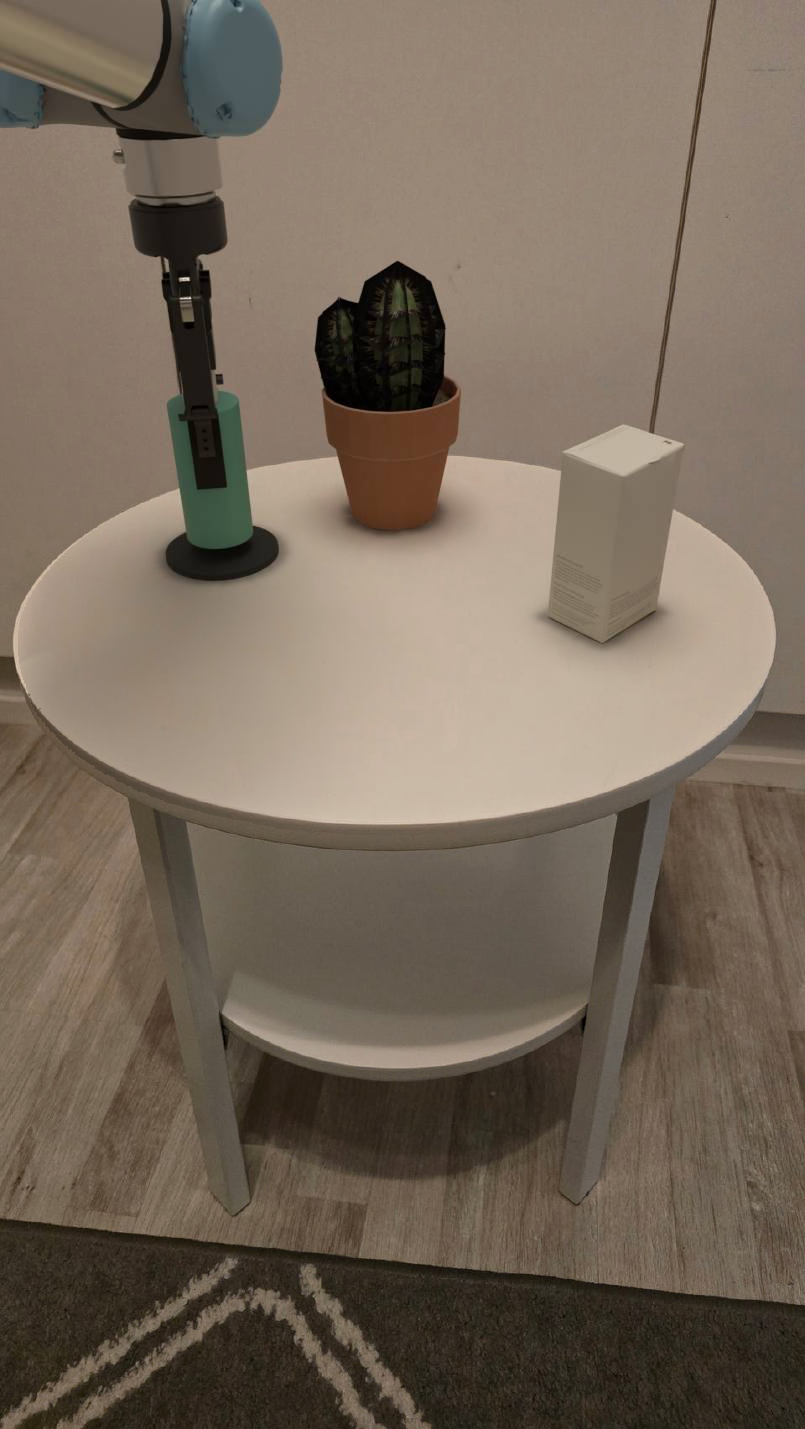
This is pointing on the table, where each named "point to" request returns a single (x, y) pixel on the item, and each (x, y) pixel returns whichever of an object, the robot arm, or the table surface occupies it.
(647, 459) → the cosmetic box
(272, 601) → the table surface
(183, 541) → the black round coaster
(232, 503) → the spray bottle
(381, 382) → the potted plant
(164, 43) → the robot arm
